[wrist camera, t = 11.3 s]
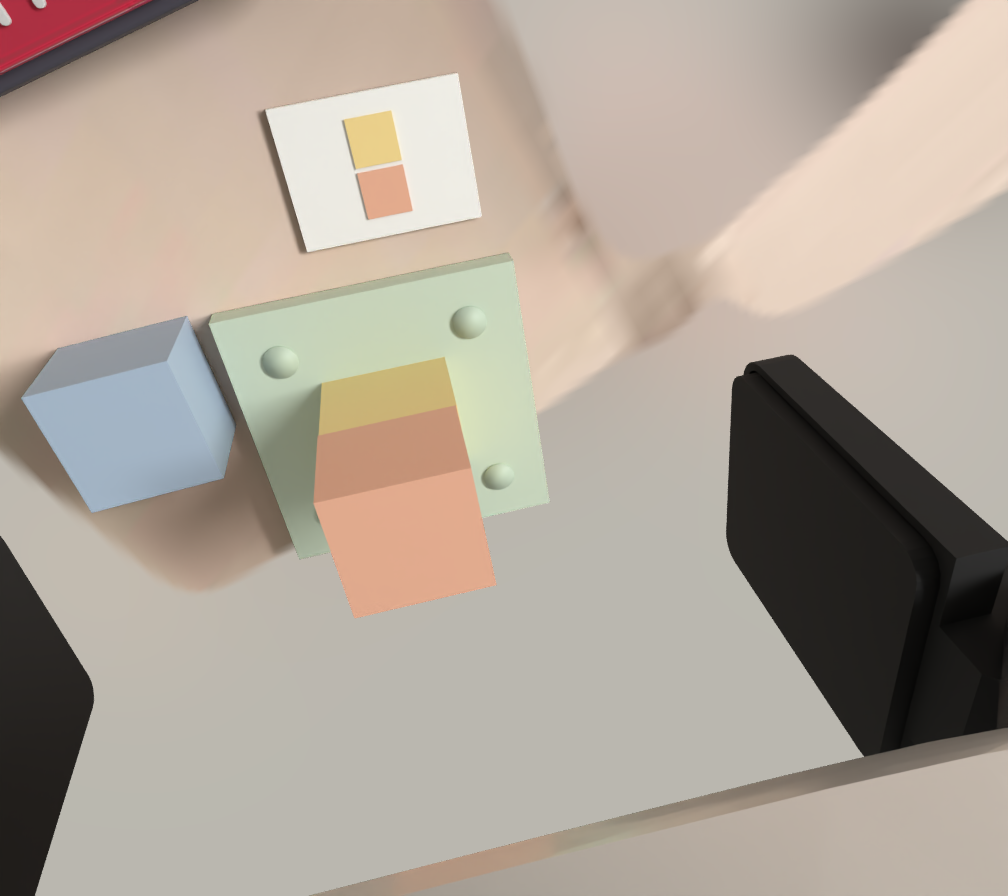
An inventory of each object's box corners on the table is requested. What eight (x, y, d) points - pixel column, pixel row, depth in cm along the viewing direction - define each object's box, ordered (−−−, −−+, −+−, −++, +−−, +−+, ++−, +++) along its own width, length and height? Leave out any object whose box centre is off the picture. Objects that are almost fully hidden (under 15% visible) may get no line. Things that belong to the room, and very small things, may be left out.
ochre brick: (321, 383, 38) (318, 435, 34) (444, 356, 38) (456, 405, 34) (353, 484, 41) (354, 543, 37) (466, 458, 41) (479, 514, 37)
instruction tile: (265, 109, 32) (265, 110, 32) (456, 72, 33) (458, 73, 32) (307, 250, 36) (307, 253, 35) (481, 214, 36) (482, 217, 36)
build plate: (212, 313, 36) (208, 325, 35) (508, 252, 37) (513, 261, 36) (300, 545, 44) (299, 561, 43) (545, 490, 45) (550, 503, 44)
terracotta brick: (317, 435, 34) (313, 503, 29) (455, 405, 34) (471, 467, 30) (353, 543, 37) (354, 618, 33) (479, 514, 37) (496, 584, 33)
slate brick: (58, 347, 36) (21, 398, 32) (187, 314, 36) (166, 360, 32) (118, 454, 39) (91, 512, 35) (236, 423, 40) (223, 478, 35)
